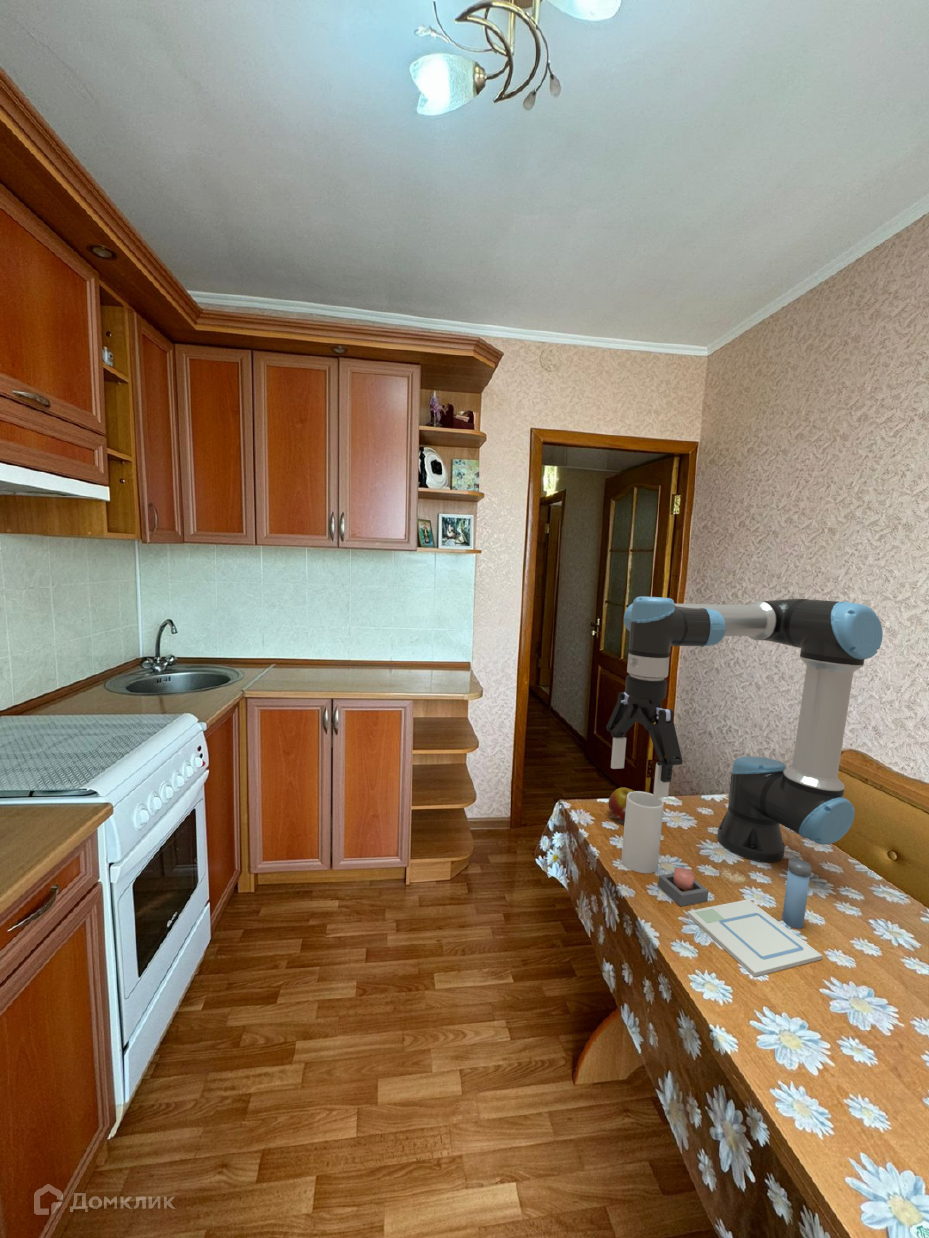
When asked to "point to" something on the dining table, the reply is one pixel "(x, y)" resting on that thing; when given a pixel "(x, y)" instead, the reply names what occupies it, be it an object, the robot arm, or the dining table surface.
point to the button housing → (683, 898)
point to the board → (753, 937)
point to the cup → (642, 832)
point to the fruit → (619, 802)
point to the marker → (796, 892)
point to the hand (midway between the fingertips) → (637, 781)
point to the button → (683, 878)
